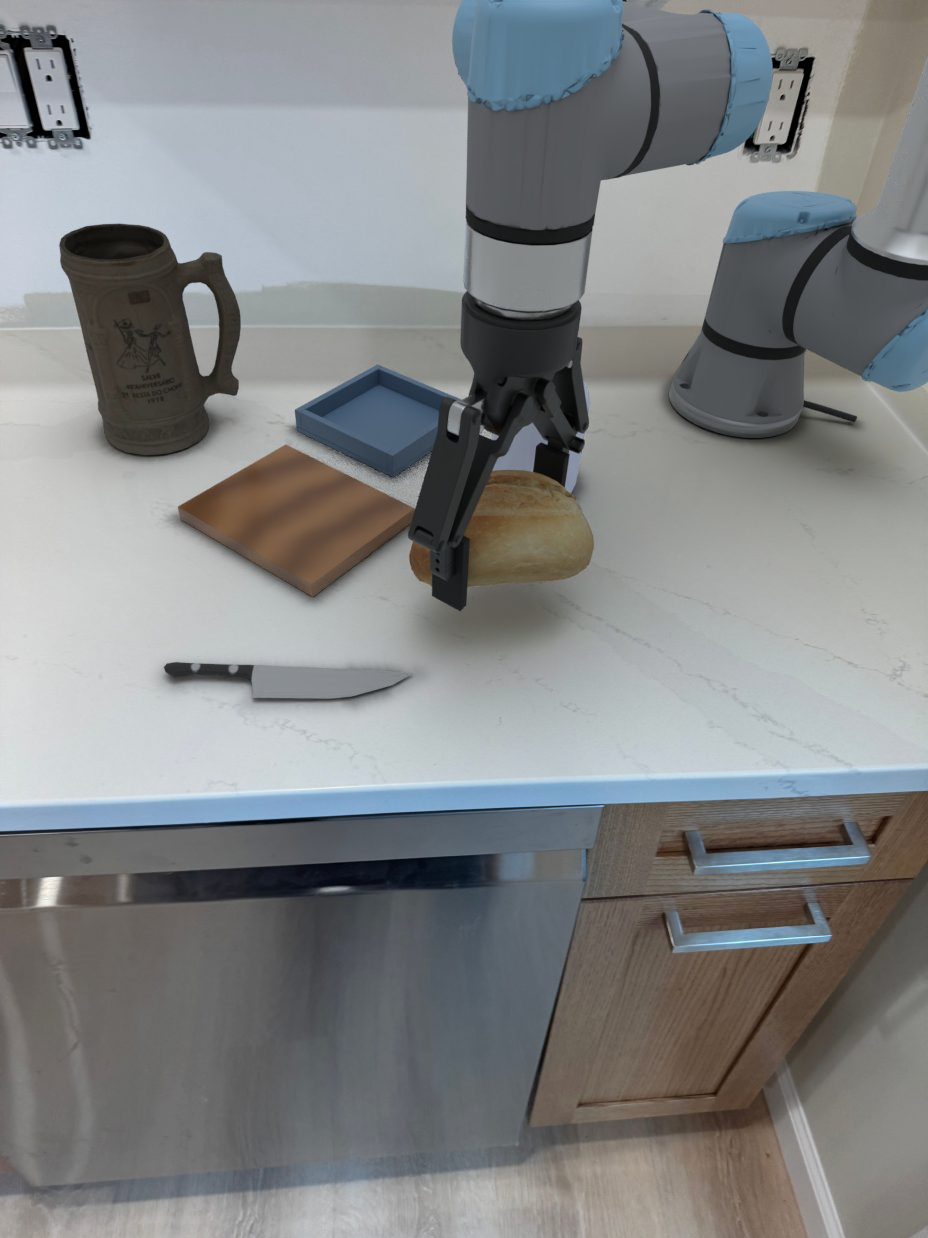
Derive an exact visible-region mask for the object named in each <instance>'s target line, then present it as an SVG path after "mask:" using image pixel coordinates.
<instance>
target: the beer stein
mask: <svg viewBox="0 0 928 1238" xmlns="http://www.w3.org/2000/svg"><path fill="white" fill-rule="evenodd" d="M58 247H59V254H60V257H59V258H60V259H59V263H60V268H61V269H62V271H63V273H64V274H65V275H66V276H67V278H68V282H69V285H70V289H71V293H72V298H73V301H74V303H75V309H76V313H77V316H78V320H79V325H80V328H81V333H82V337H83V342H84V343H83V344H84V347H85V351H86V355H87V359H88V363H89V366H90V367H89V368H90V371H91V375H92V380H93V383H94V388H95V393H96V397H97V410H98V412H99V414H100V416H101V419H102V424H103V432H104V435H105V439H106V440H107V441H108V442H109V444H110V445H112V446H113V447H114V448H116V449H118V450H119V451H122V452H125V453H129V454H134V455H141V456H155V455H157V456H158V455H166V454H172V453H175V452H179V451H183V450H185V449H187V448H190V447H191V446H193V445H195V444H196V443H199V442H200V441H201V440H202V439H203V438H204V437H205V435H206V434H207V432H208V430H209V428H210V419H209V414H208V412H207V410H206V408H205V403H206V401H207V400H208V399H209V398H210V397H212V396H214V395H217V394H218V395H219V394H220V395H221V394H222V395H228V396H232V397H236V396H238V392H239V389H240V382H239V379H238V378H237V377H236V376H234V374H233V371H232V370H233V365H234V364H233V363H234V360H235V356H236V353H237V349H238V347H239V342H240V338H241V329H242V323H241V321H242V320H241V319H242V318H241V310H240V306H239V303H238V299H237V296H236V293H235V291H234V290H233V287H232V285H231V284H230V281H229V280H228V277H227V276H226V273H225V269H224V265H223V256H222V254H220V253H218V252H214V251H213V252H212V251H205V252H203V253H202V254H201V255H200V256H198V258H196V259H194V260H189V261H186V262H179V261H178V259H177V255H176V253H175V252H174V249H173V248H172V246H171V243H170V240H169V237H168V236H167V234H165V233H164V232H162V231H161V230H158V229H156V228H153V227H151V226H146V225H141V224H131V223H130V224H128V223H100V224H92V225H85V226H83V227H80V228H77V229H74V230H71V231H69V232H68V233H66V234H63V236H62V237H61V238H60V241H59V244H58ZM197 283H200V284H203V285H205V286H206V287H207V288H208V289H209V290H210V291H211V293H212V294H213V297H214V300H215V305H216V308H217V315H218V341H217V342H218V343H217V348H216V356H215V360H214V365H213V368H212V371H211V372H210V374H209V375H202V374H201V372H200V368H199V364H198V361H197V357H196V353H195V349H194V348H195V347H194V344H193V339H192V336H191V329H190V324H189V319H188V316H187V311H186V307H185V303H184V296H183V295H184V292H185V289H186V288H187V287H188V286H189V285H190V284H197Z"/></svg>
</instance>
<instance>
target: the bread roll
mask: <svg viewBox="0 0 928 1238" xmlns="http://www.w3.org/2000/svg"><path fill="white" fill-rule="evenodd" d="M576 498H577V497H576V496H575V495H574V494H573V493H572V492H571V493H570V492H568V491H567V490H566V489H565V487H563V486H562V485H561V484H559V483H558V482H557V481H555V480H553V479H551V478H549V477H547V476H545V475H542V474H539V473H535V472H530V471H524V470H495V471H492V473H491V475H490V477H489V479H488V482H487V484H486V486H485V488H484V491H483V493H482V495H481V497H480V500H479V502H478V504H477V506H476V509H475V511H474V513H473V515H472V518H471V520H470V522H469V524H468V527H467V529H466V531H465V533H464V536H465V537H468V538H470V547H469V566H468V584H467V588H474V587H485V586H495V585H508V584H521V583H539V582H540V583H541V582H542V583H543V582H554V581H562V580H566V579H570V578H572V577H575V576H576V575H578V574H580V573H581V572H582V571H584V570H585V569H587V567H588V566H589V565H590V563H591V560H592V558H593V552H594V549H595V540H594V539H595V538H594V534H593V531H592V528H591V525H590V524H589V521H588V519H587V517H586V516H585V514H584V513H583V509H582V506H581V505H580V504H579V503H578V502H577V501H576ZM408 560H409V566H410V569H411V571H412V573H413V575H414V576H415V578H416V579H417V580H418V581H419V582H422V583H425V584H427V585H429V586H430V587H432V573H431V571H430V549H428V548H426V547H424V546H422V545H420V544H418V543H416V542H414V541H412V543H411V546H410V551H409V554H408Z"/></svg>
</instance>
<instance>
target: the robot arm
mask: <svg viewBox="0 0 928 1238" xmlns="http://www.w3.org/2000/svg"><path fill="white" fill-rule="evenodd" d="M670 1H671V0H461V1H460V3H459V6H458V8H457V11H456V13H455V17H454V22H453V27H452V32H451V33H452V35H451V36H452V37H451V45H452V47H451V49H452V55H453V60H454V65H455V67H456V69H457V75H458V76H459V77H460V79H461V80H462V82H463V84H464V85H465V86H466V95H467V130H466V131H467V133H466V135H467V136H466V138H467V139H466V177H465V178H466V181H465V183H466V184H465V232H464V233H465V236H464V252H463V253H464V254H463V275H462V282H463V287H464V289H465V292H464V293H463V295H462V297H461V315H460V338H459V339H460V341H459V342H460V349H461V352H462V354H463V356H464V357H465V358H466V360H467V361H468V363H469V365H470V367H471V369H472V371H473V377H472V381H471V386H470V388H469V392H468V396H466V397H464V398H462V400H460V401H457V400H455V399H453V398H450V397H445V398H444V399H443V400H442V402H441V404H440V408H439V418H438V429H437V435H436V439H435V442H434V446H433V449H432V451H431V452H430V457H429V459H428V462H427V463H428V464H427V466H426V471H425V474H424V477H423V481H422V484H421V487H420V491H419V494H418V498H417V501H416V505H415V511H414V515H413V518H412V521H411V524H410V525H409V528H408V533H407V538H408V540H410V541H412V542H413V541H414V542H416V543H418V544H420V545H422V546H424V547H426V548H428V549H430V571H431V573H432V586H431V597H432V598H434V599H436V600H438V601H440V602H441V603H444V604H446V605H447V606H449V607H451V608H453V609H455V610H457V611H458V612H461V611H463V610H464V609H465V608H466V607H467V601H468V599H467V598H468V587H467V584H468V566H469V547H470V538H468V537H465V536H464V533H465V531H466V529H467V527H468V524H469V522H470V520H471V518H472V515H473V513H474V511H475V509H476V506H477V504H478V502H479V500H480V497H481V495H482V493H483V491H484V488H485V486H486V484H487V482H488V479H489V477H490V475H491V473H492V470H493V468H494V466H495V464H496V461H497V459H498V458H499V457H502V456H505V455H506V454H507V453H508V451H509V448H510V446H511V444H512V442H513V439H514V437H515V435H517V434H518V432H519V431H520V430H521V429H522V428H523V427H525V426H528V425H530V424H531V423H533V424H534V426H535V427H536V429H537V430H538V432H539V433H540V435H541V436H542V438H543V439H544V440H546V441H548V444H544V443H542V442H541V443H539V444H538V445H537V446H536V451H535V459H534V468H533V472H535V473H539V474H542V475H545V476H547V477H549V478H551V479H553V480H555V481H557V482H558V483H559V484H561V485H562V486H563V487H565V483H566V476H567V470H568V463H569V456H570V454H569V450H570V451H573V452H575V453H578V454H579V453H580V452H581V451H582V452H583V450H584V447H585V444H586V440H585V438H584V439H581V438H579V437H576V434H577V433H578V432H579V433H582V434H583V433H585V434H586V432H587V430H588V429H589V426H590V417H589V413H588V410H587V404H586V397H585V390H584V383H583V381H584V378H583V370H582V364H581V363H582V353H583V352H582V351H583V350H582V349H583V338H582V337H580V336H579V331H580V323H581V317H582V309H583V308H582V303H581V301H580V300H581V299H582V297H583V296H584V295H585V293H586V285H587V279H588V278H587V277H588V269H589V262H590V253H591V246H592V237H593V231H594V230H593V228H594V226H595V219H596V211H597V206H598V199H599V193H600V188H601V181H607V180H608V181H609V180H613V179H619V178H622V177H625V176H631V175H637V174H641V173H646V172H651V171H658V170H662V169H669V168H673V167H678V166H683V165H686V166H694V165H700V164H701V163H702V162H705V161H706V160H708V159H711V158H715V157H717V156H721V155H723V154H727V153H729V152H732V151H734V150H735V149H737V148H739V147H740V146H741V145H743V144H744V143H745V142H746V141H747V140H748V139H749V138H750V137H751V136H752V135H753V133H754V132H755V131H756V130H757V127H758V126H759V124H760V122H761V121H762V119H763V117H764V116H765V112H766V109H767V106H768V103H769V100H770V94H771V90H772V86H773V75H774V74H773V73H774V71H773V66H774V65H773V58H772V53H771V49H770V46H769V42H768V40H767V38H766V35H765V34H764V33H763V31H762V29H761V28H760V27H759V26H758V25H757V24H756V23H755V21H754V20H753V19H751V18H750V17H749V16H746V15H744V14H742V13H739V12H720V11H719V12H716V11H715V10H713V9H708V8H707V9H702V10H700V11H699V12H696V13H693V14H691V13H690V14H687V13H678V12H677V13H675V12H670V11H665V10H662V9H663V8H664V7H665V6H666V5H667V4H668V3H669V2H670ZM906 115H907V116H906V119H905V122H904V125H903V127H902V131H901V134H900V136H899V140H898V143H897V145H896V148H895V151H894V154H893V157H892V161H891V163H890V166H889V169H888V172H887V175H886V177H885V180H884V184H883V186H882V187H883V188H882V190H881V193H880V196H879V199H878V202H877V205H876V206H875V207H873V208H871V209H869V210H868V211H867V212H865V213H863V214H861V215H860V216H858V217H857V204H856V203H854V202H853V201H852V200H851V199H849V198H846V197H845V196H841V195H837V194H832V193H825V192H818V191H806V190H803V191H802V190H779V191H769V192H762V193H756V194H754V195H750V196H748V197H746V198H744V199H743V200H742V201H740V202H739V203H738V205H737V206H735V209H734V211H733V213H732V216H731V218H730V219H731V220H730V221H729V225H728V228H727V231H726V234H725V236H724V237H723V239H722V247H721V252H720V256H719V260H718V263H717V266H716V267H717V268H716V272H715V276H714V279H713V284H712V286H711V287H712V288H711V291H710V295H709V299H708V303H707V307H706V311H705V315H704V317H703V318H704V319H703V323H702V326H701V330H700V332H699V334H698V336H697V337H696V339H695V341H694V343H693V344H692V346H691V347H690V348H689V350H688V351H687V353H686V354H685V356H684V357H683V359H682V361H681V363H680V365H679V366H678V367H677V369H676V371H675V372H674V374H673V375H672V380H671V383H670V387H669V391H668V398H669V402H670V403H671V406H672V407H673V409H675V411H676V412H678V414H679V415H681V416H682V417H684V418H685V419H686V420H688V421H689V422H691V423H692V424H695V425H697V426H698V427H700V428H703V429H705V430H709V431H711V432H713V433H718V434H722V435H724V436H731V437H736V438H746V439H762V438H763V439H764V438H771V437H776V436H779V435H782V434H784V433H787V432H789V431H790V430H792V429H793V428H794V427H795V426H796V425H797V423H798V421H799V418H800V416H801V414H802V410H803V408H806V409H808V410H812V411H816V412H819V413H822V414H826V415H830V416H832V417H835V418H839V419H842V420H845V421H849V422H851V423H856V421H857V419H858V416H857V415H854V414H851V413H848V412H845V411H842V410H840V409H839V410H838V409H836V408H832V407H830V406H825V405H822V404H818V403H816V402H812V401H808V400H805V399H804V398H805V355H806V352H807V351H809V352H811V353H814V354H815V355H817V356H819V357H821V358H823V359H825V360H827V361H829V362H831V363H833V364H835V365H837V366H839V367H841V368H843V369H845V370H848V371H849V372H851V373H852V374H853V373H854V374H856V375H857V376H859V377H861V380H863V381H864V382H869V383H870V382H872V383H875V384H877V385H879V386H881V387H883V388H886V389H888V390H890V391H892V392H898V393H904V392H905V393H906V392H911V391H914V390H916V389H918V388H921V387H923V386H925V385H926V384H928V55H927V56H926V60H925V62H924V66H923V68H922V71H921V74H920V77H919V79H918V83H917V86H916V88H915V92H914V95H913V97H912V101H911V104H910V106H909V110H908V112H907V114H906ZM484 430H485V431H486V432H488V433H490V434H492V433H493V434H495V435H498V436H499V437H498V438H497V439H496V440H491V438H489V437H488V436H487V437H486V436H484V435H482V433H483V432H484Z"/></svg>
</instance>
